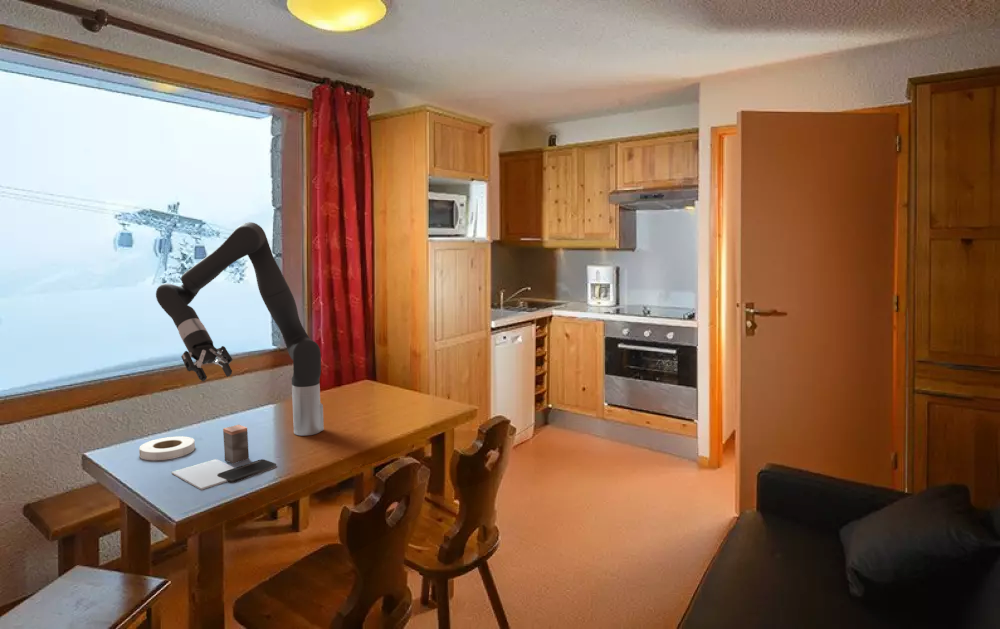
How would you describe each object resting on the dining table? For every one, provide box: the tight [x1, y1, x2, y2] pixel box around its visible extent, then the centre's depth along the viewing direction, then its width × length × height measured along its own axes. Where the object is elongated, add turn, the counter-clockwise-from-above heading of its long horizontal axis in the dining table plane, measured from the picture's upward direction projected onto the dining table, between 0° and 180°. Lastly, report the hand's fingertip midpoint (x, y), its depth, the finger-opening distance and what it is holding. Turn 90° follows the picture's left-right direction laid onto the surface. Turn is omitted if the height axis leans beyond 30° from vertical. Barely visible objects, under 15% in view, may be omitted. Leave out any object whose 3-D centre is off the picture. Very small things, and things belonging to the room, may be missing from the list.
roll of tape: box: [138, 435, 196, 461], centre depth 192 cm, size 16×15×3 cm
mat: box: [171, 458, 235, 491], centre depth 174 cm, size 13×18×1 cm
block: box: [222, 424, 250, 465], centre depth 185 cm, size 5×5×10 cm
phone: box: [217, 458, 277, 484], centre depth 176 cm, size 8×1×15 cm
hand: (217, 377), depth 188 cm, fingers open, 8 cm apart
